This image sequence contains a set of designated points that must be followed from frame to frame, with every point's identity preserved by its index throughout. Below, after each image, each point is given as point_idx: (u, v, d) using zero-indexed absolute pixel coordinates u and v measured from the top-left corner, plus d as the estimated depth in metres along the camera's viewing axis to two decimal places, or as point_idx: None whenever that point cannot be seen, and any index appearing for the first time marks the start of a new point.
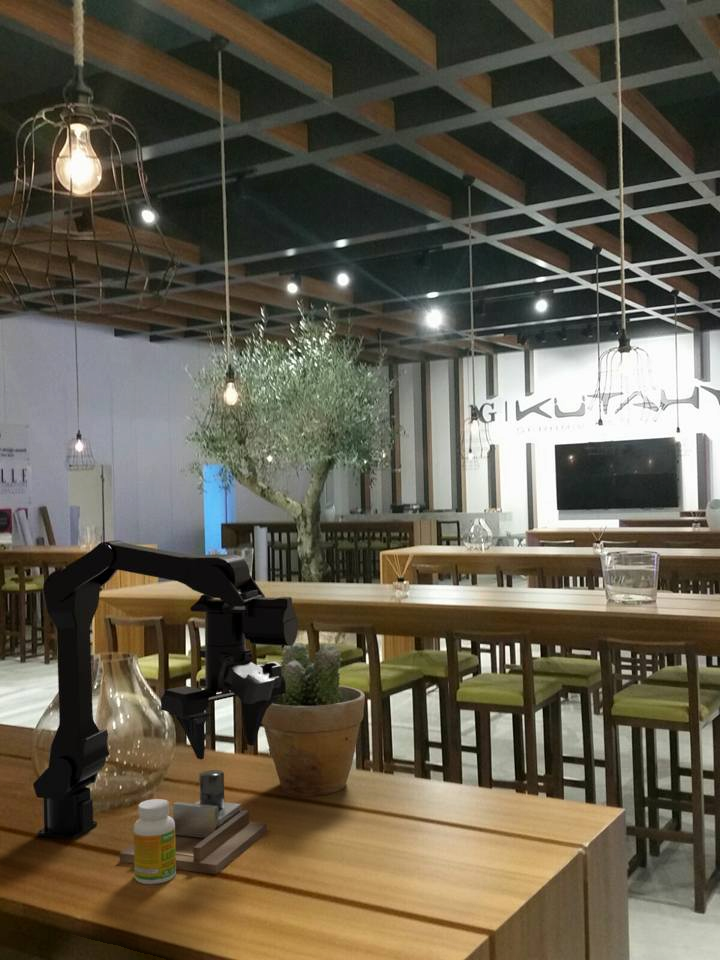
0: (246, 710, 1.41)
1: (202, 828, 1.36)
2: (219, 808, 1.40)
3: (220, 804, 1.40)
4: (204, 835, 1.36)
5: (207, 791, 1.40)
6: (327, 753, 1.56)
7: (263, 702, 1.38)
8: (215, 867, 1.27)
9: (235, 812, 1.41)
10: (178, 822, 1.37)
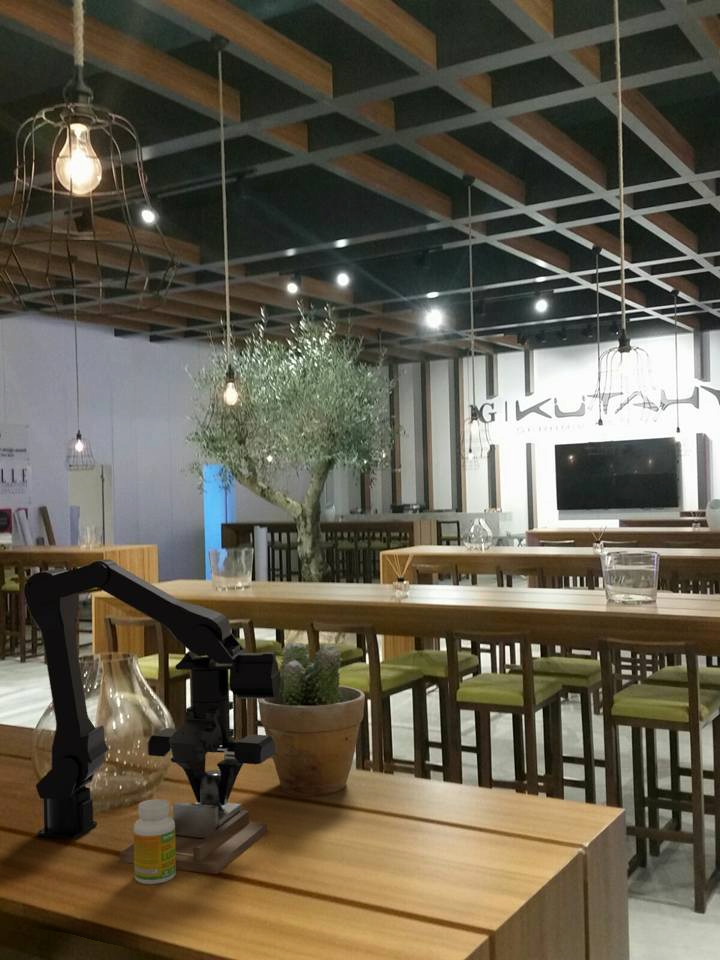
0: None
1: (202, 828, 1.36)
2: (219, 808, 1.40)
3: (220, 804, 1.40)
4: (204, 835, 1.36)
5: (207, 791, 1.40)
6: (327, 753, 1.56)
7: None
8: (215, 867, 1.27)
9: (235, 812, 1.41)
10: (178, 822, 1.37)
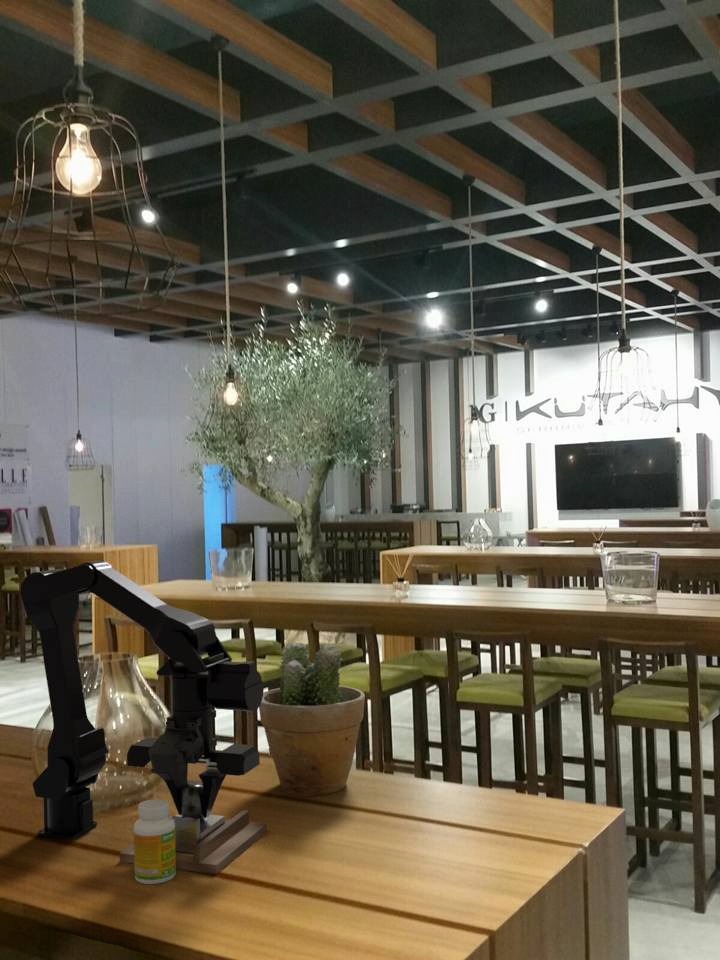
0: None
1: (183, 842, 1.31)
2: (201, 821, 1.35)
3: (202, 816, 1.35)
4: (185, 849, 1.31)
5: (189, 803, 1.35)
6: (327, 753, 1.56)
7: None
8: (215, 867, 1.27)
9: (218, 824, 1.36)
10: None
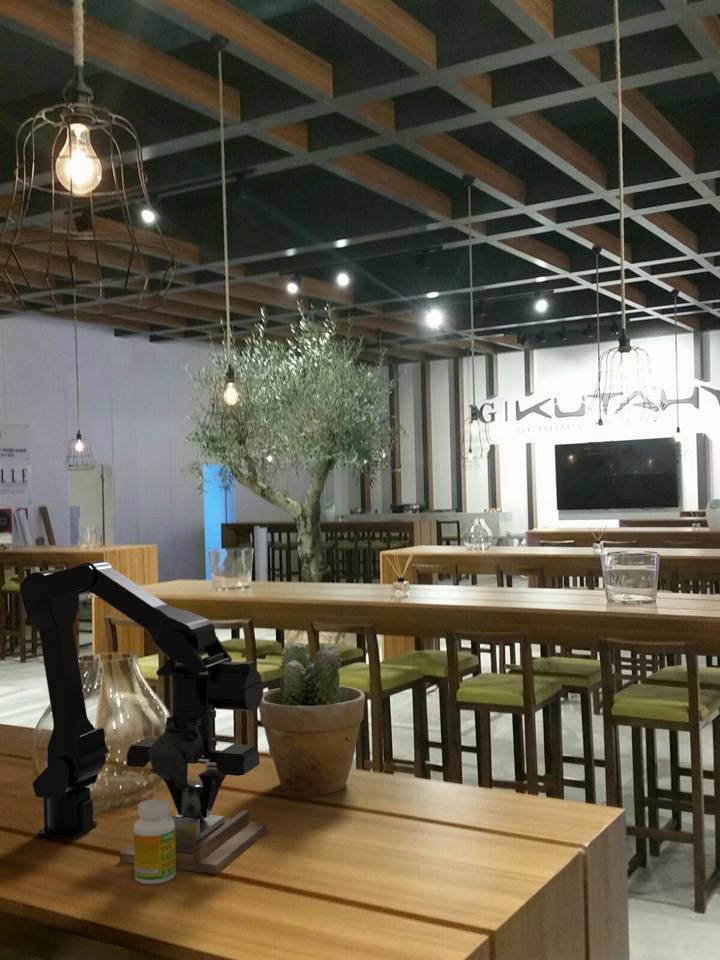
0: None
1: (183, 842, 1.31)
2: (201, 821, 1.35)
3: (202, 817, 1.35)
4: (185, 849, 1.30)
5: (188, 803, 1.35)
6: (327, 753, 1.56)
7: None
8: (215, 867, 1.27)
9: (217, 824, 1.36)
10: None
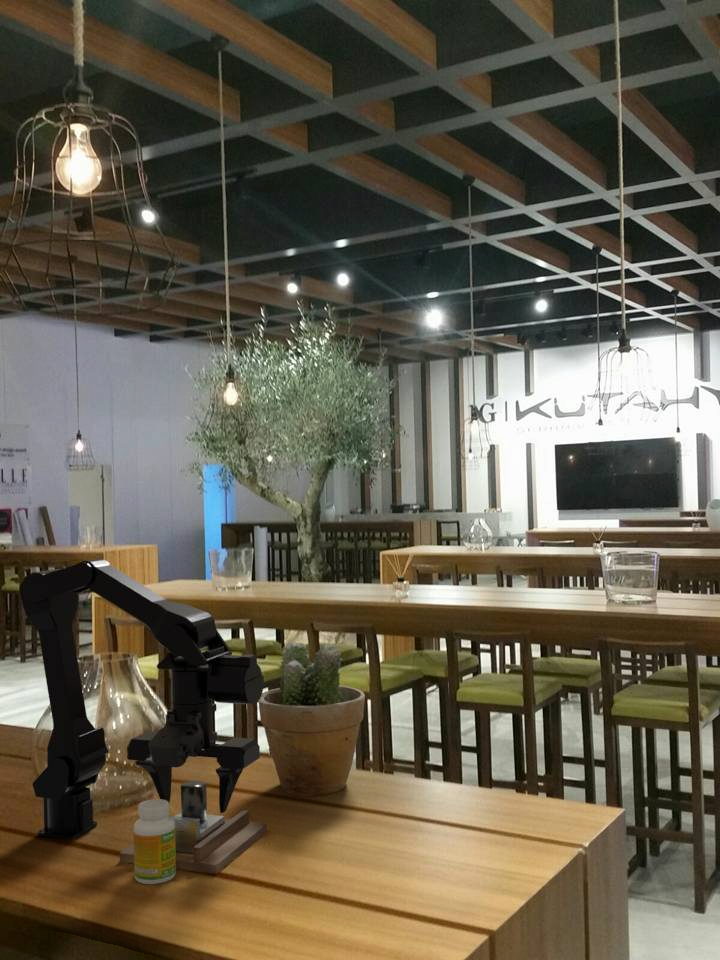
0: None
1: (183, 842, 1.31)
2: (201, 821, 1.35)
3: (202, 817, 1.35)
4: (185, 849, 1.30)
5: (188, 803, 1.35)
6: (327, 753, 1.56)
7: None
8: (215, 867, 1.27)
9: (217, 824, 1.36)
10: None
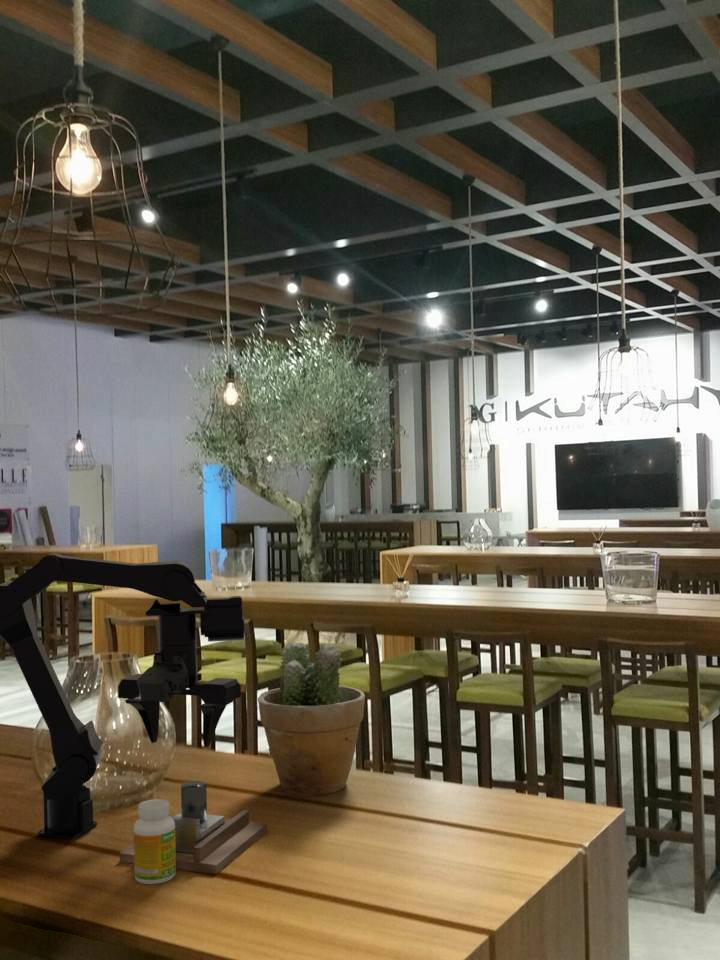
0: None
1: (183, 842, 1.31)
2: (201, 821, 1.35)
3: (202, 817, 1.35)
4: (185, 849, 1.30)
5: (188, 803, 1.35)
6: (327, 753, 1.56)
7: None
8: (215, 867, 1.27)
9: (217, 824, 1.36)
10: None
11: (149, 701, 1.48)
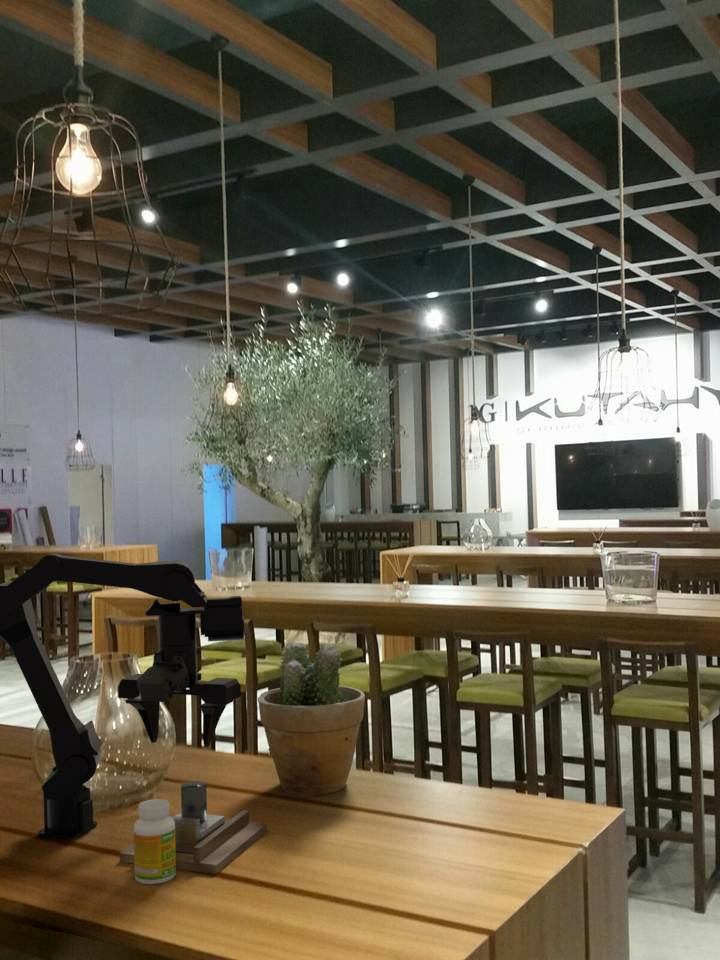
0: None
1: (183, 842, 1.31)
2: (201, 821, 1.35)
3: (202, 817, 1.35)
4: (185, 849, 1.30)
5: (188, 803, 1.35)
6: (327, 753, 1.56)
7: None
8: (215, 867, 1.27)
9: (217, 824, 1.36)
10: None
11: (149, 701, 1.48)
